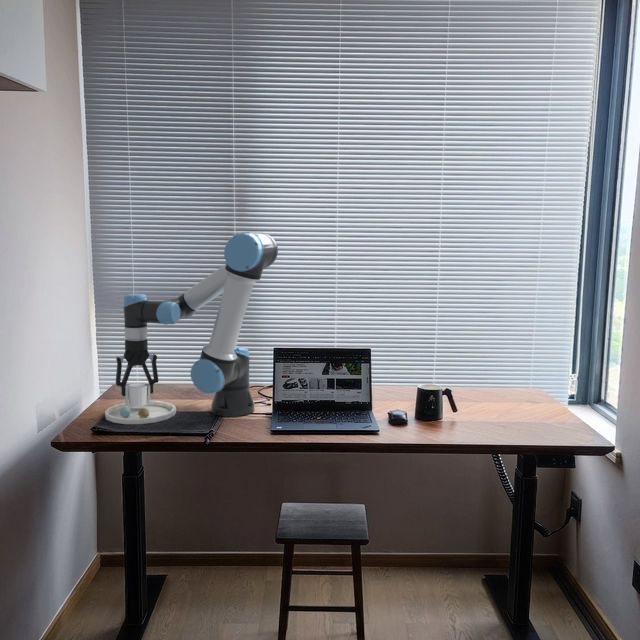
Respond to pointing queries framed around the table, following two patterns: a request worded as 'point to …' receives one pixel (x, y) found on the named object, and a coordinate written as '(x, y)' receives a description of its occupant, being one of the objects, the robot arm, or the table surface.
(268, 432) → the table surface
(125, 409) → the bead teal
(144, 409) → the bead honey
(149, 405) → the ring tray
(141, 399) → the shot glass
